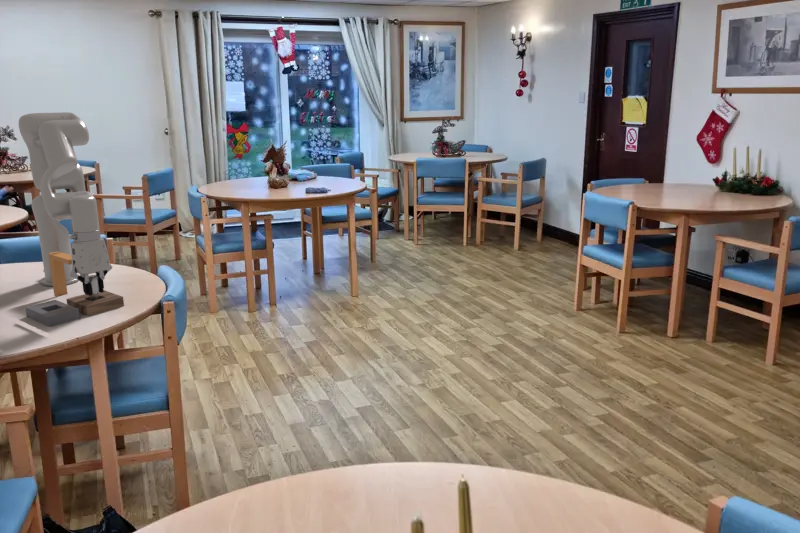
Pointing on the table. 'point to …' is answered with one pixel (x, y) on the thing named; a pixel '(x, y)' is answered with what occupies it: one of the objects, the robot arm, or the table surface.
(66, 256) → the orange angle bracket
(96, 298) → the grey metal rod
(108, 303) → the socket block
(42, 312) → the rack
